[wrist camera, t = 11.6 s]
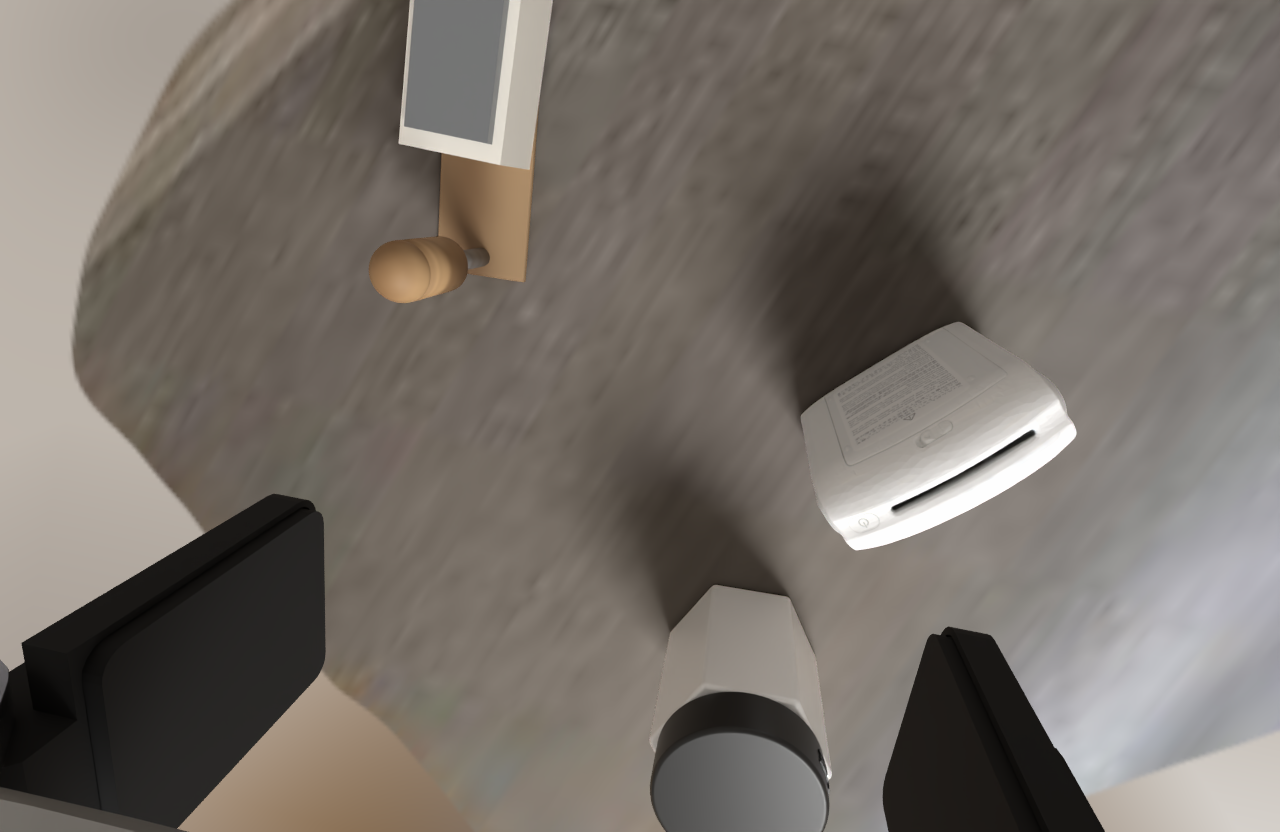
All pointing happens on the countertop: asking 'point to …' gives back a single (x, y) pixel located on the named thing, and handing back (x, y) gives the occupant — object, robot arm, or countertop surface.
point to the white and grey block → (474, 78)
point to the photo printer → (929, 435)
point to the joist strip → (488, 211)
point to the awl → (422, 267)
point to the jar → (740, 720)
